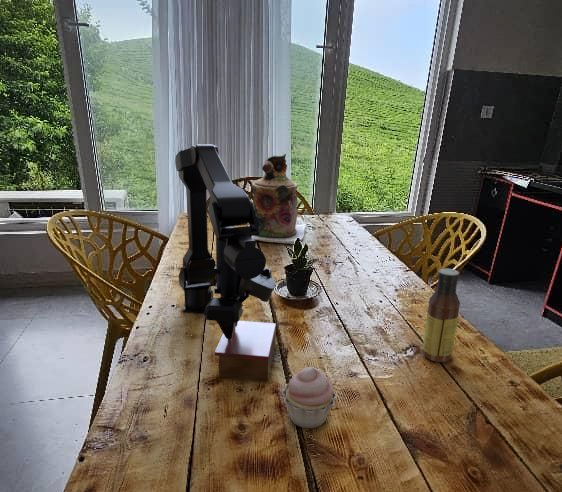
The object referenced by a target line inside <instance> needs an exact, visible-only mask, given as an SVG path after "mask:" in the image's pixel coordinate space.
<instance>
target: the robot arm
mask: <svg viewBox="0 0 562 492" xmlns="http://www.w3.org/2000/svg"><path fill="white" fill-rule="evenodd" d="M219 153H220V152H219V148H218V146H217V145H214V144H210V143H209V144H207V143H206V144H205V143H204V144H203V143H202V144H199V143H198V144H195V145H192V146H190V147H189V148H185V149H181V150H179V151H178V153H177V154H175V158H174V159H175V163H174V165H175V169H176V171H177V172H178V178H179V180H180V181H181V183H182V184H183V185H184V187H185V190H186V208H187V209H186V210H187V211H186V213H187V234H188V249H187V250H186V252H185V254H184V255H183V257H182V266H181V267H180V270H179V274H178V283H179V286H180V287H181V289H182V291H183V293H184V306H183V308H182V312H189V313H200V314H201V313H202V314H204V320H206V321H213V322H216V323H217V325H218V326H219V328H220V330H221V332H222V334H224V335H225V337H226V339H232V336H233V331H234V325H235V322H236V326H237V323H238V321H240V319H241V317H242V315H243V313H244V311H245V310H244V309H243V303H244V302H245V301H246V300H247V299H249V297H250V296H251V297H254V298H256V299H259V300H260V301H262V302H264V303H267V302H269V301H270V298H271V295H272V294H273V291H274V289H275V286H276V283H277V282H276V280H275V277H273V276H272V269H271V268H268V267H266V265H267V258H266V255H265V254H264V252H263V251H262V250H261V249H260V248H259V247H257V246H256V244H257V243H256V241H257V240H254V239H252V238H251V236H256V235H259V229H258V228H259V226H260V224H259V221H258V218H257V215H256V212H255V208H254V206H253V200H251V199H250V197H249V196H248V194H247V193H246V192H245V190H244V189H243V188H241V187H240V186H238V185H235V184H234V183H233V181H232V179H231V177H230V175H229V173H228V171H227V170H226V167H225V166H224V163H223V161H222V159H221V157H220V155H219ZM207 192H208V194H209V198H210V199H209V203H208V200H207V199H208V198H207V197H208V195H207ZM208 217H209V221H210V224H211V227H212V230H213V233H214V236H215V256H216V257H215V259H214V257H213V256H212V254H211V253H210V250H209V238H208V234H209V233H208ZM249 225H250V226H249ZM212 287H214V288H212ZM215 294H216V295H220V296H219V297H214V295H215Z"/></svg>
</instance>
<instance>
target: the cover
mask: <svg viewBox="0 0 562 492" xmlns="http://www.w3.org/2000/svg"><path fill="white" fill-rule="evenodd" d="M275 328H276V329H277V323H273V322H262V321H261V322H260V321H249V320H239V321H238V323H237V326H236V322H235V325H234V331H233V336H232V339H226V337H225V335H224V334H223V333H222V334H221V336H220V339H219V341H218V343H217V346H216V348H215V350H214V352H213V353H214V356H215V357H219V356H224V357H236V358H248V359H260V360H268V359H269V355H270V350H271V346H272V342H273V337H274V333H275Z"/></svg>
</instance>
